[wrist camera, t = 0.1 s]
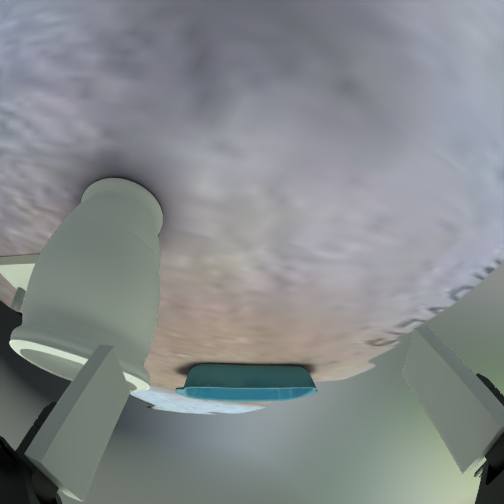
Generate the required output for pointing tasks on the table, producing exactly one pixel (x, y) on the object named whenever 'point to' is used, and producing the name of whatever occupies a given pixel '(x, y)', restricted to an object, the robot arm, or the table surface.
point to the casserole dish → (247, 383)
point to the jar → (96, 285)
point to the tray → (18, 274)
